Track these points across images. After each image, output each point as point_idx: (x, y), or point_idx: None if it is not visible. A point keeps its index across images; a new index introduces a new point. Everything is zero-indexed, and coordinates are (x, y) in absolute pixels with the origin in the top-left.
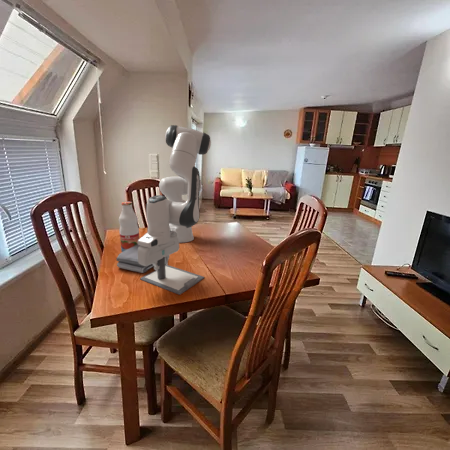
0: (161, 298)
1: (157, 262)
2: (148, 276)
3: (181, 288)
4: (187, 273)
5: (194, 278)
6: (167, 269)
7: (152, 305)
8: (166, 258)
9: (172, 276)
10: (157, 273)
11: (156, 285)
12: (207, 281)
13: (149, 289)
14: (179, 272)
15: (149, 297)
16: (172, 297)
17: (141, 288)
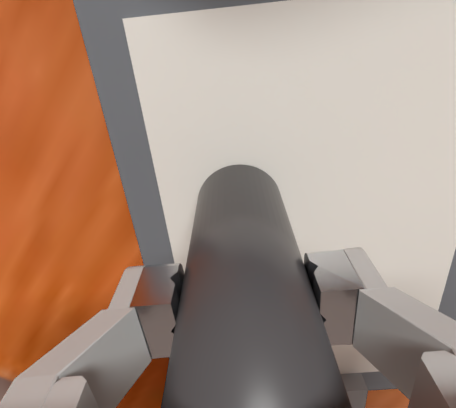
0: None
1: (168, 370)
2: (168, 47)
3: None
4: (436, 294)
5: (361, 399)
6: (437, 86)
7: (3, 366)
8: (409, 370)
9: (323, 244)
10: (195, 216)
11: (139, 233)
12: (400, 405)
13: (67, 232)
14: (425, 235)
15: (20, 305)
16: (135, 383)
17: (15, 172)
